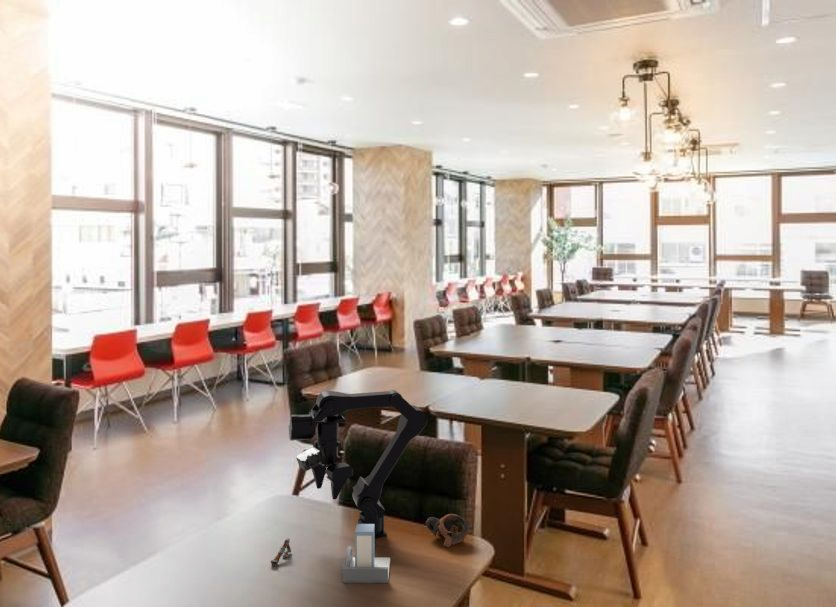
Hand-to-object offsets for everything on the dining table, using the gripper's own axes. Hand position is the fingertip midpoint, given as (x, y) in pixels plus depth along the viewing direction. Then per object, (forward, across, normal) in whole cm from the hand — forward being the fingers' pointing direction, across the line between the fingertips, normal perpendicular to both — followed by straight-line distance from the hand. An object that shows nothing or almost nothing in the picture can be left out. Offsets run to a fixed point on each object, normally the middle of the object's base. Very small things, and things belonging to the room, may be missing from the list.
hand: (326, 493), depth 183 cm
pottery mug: (+13, +19, +28) cm, 36 cm away
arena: (+13, +21, 0) cm, 25 cm away
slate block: (+12, +22, 0) cm, 25 cm away
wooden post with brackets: (+14, +4, -15) cm, 21 cm away
